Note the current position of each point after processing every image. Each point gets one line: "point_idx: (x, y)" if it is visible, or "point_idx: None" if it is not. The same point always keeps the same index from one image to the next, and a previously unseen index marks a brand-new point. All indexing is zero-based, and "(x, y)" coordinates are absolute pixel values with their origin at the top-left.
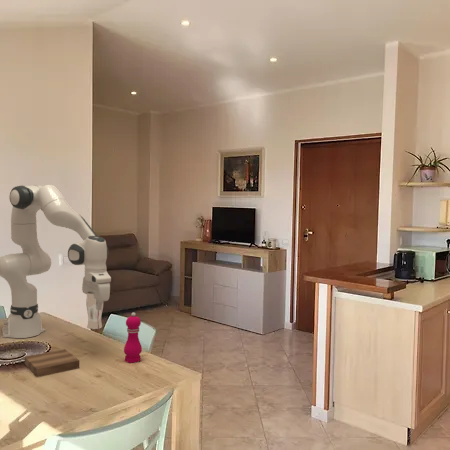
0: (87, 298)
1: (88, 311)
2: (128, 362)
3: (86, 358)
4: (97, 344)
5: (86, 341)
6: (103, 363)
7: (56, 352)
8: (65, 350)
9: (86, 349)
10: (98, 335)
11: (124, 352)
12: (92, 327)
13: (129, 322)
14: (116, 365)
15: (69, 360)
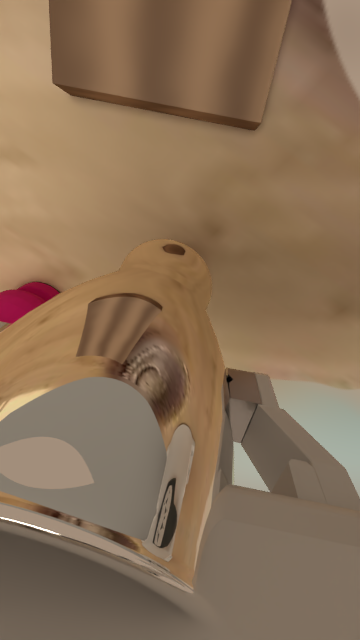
0: (62, 353)
1: (127, 271)
2: (28, 283)
3: (159, 195)
4: (267, 320)
5: (333, 313)
6: (67, 213)
7: (248, 42)
8: (238, 112)
9: (253, 258)
10: (347, 378)
11: (25, 291)
12: (130, 253)
13: None
14: (24, 237)
15: (79, 30)
